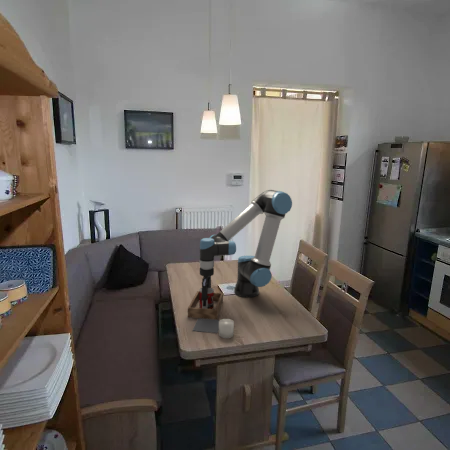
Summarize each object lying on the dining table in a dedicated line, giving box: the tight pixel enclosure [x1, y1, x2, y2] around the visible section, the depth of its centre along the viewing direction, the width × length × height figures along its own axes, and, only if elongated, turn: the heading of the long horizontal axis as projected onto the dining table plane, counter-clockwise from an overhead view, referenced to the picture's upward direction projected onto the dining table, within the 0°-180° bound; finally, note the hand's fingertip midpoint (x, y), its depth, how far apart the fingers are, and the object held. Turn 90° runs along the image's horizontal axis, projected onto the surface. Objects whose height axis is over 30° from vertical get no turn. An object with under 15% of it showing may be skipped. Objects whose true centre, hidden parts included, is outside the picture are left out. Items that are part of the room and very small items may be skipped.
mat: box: [192, 318, 221, 334], centre depth 155 cm, size 12×12×1 cm
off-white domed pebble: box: [218, 318, 235, 339], centre depth 147 cm, size 7×7×6 cm
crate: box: [187, 291, 224, 320], centre depth 172 cm, size 15×22×5 cm
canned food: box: [198, 287, 215, 309], centre depth 172 cm, size 8×8×11 cm
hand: (206, 307), depth 172 cm, fingers closed on canned food, 8 cm apart
